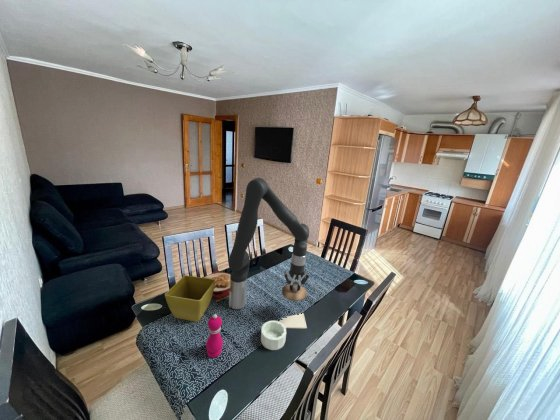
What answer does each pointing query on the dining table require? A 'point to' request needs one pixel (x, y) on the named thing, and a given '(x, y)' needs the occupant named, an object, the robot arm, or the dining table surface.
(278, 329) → the bowl
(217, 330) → the pepper mill
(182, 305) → the flower pot
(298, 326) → the mat
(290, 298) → the lid
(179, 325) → the dining table surface
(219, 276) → the plate with food
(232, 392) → the dining table surface
